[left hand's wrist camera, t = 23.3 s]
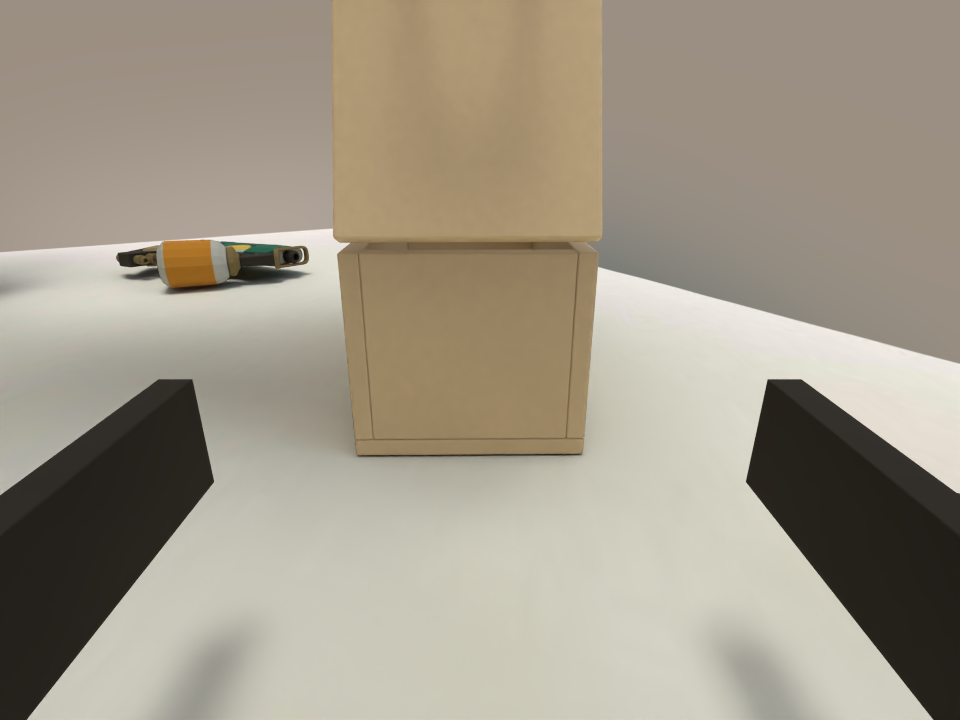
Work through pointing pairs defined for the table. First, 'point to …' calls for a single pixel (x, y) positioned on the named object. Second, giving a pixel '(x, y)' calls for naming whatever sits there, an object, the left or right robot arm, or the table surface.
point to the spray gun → (209, 260)
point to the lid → (467, 120)
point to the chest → (468, 345)
